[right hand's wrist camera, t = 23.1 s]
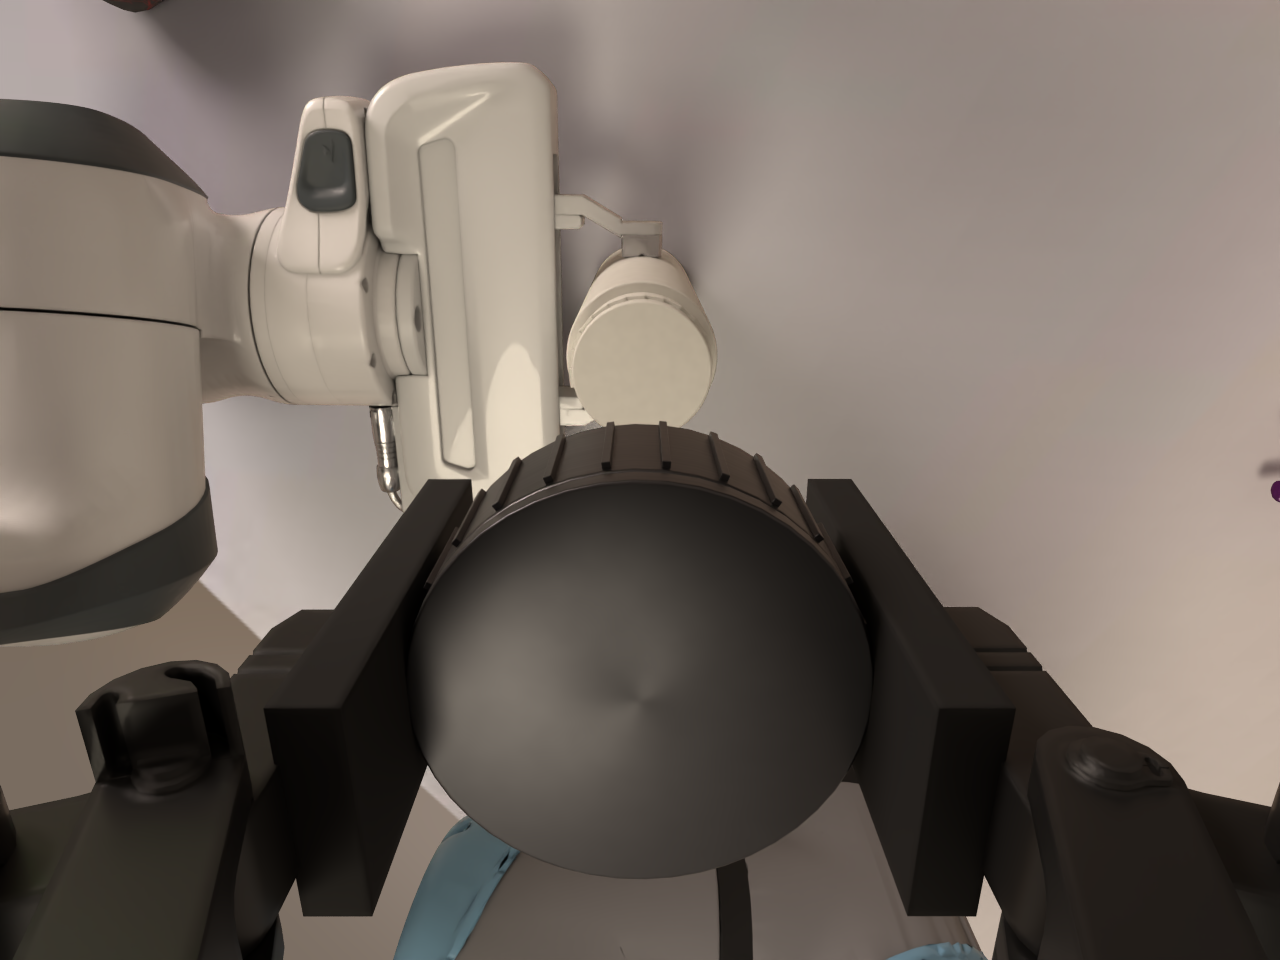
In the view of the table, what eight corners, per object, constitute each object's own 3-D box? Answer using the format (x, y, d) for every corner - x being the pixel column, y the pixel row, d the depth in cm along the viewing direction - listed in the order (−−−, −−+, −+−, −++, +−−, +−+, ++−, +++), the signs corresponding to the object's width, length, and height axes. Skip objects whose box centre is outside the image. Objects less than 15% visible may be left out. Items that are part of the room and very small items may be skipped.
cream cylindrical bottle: (686, 239, 42) (718, 281, 25) (693, 339, 43) (728, 442, 26) (586, 249, 42) (549, 297, 25) (598, 348, 44) (571, 456, 27)
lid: (438, 751, 13) (398, 866, 11) (447, 395, 11) (400, 447, 9) (799, 783, 13) (830, 902, 11) (873, 440, 11) (930, 501, 9)
